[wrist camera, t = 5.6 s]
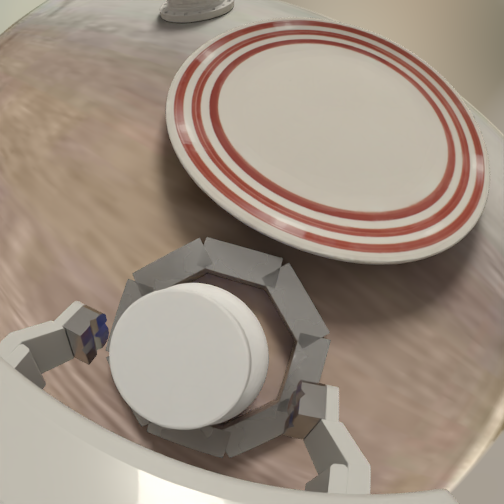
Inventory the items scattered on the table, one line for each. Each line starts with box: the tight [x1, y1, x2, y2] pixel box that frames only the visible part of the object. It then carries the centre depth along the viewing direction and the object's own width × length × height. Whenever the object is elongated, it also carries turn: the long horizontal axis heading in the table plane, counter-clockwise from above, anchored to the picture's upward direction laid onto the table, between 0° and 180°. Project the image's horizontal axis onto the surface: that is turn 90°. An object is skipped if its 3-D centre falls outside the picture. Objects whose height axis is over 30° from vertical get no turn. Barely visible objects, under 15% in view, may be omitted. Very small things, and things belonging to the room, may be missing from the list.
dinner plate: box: [165, 17, 490, 264], centre depth 20 cm, size 28×27×3 cm
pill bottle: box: [109, 283, 269, 430], centre depth 12 cm, size 5×5×10 cm
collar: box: [106, 237, 331, 458], centre depth 16 cm, size 12×12×1 cm
